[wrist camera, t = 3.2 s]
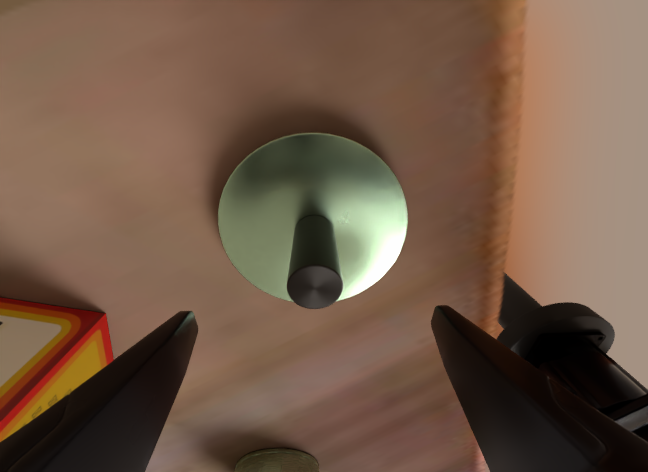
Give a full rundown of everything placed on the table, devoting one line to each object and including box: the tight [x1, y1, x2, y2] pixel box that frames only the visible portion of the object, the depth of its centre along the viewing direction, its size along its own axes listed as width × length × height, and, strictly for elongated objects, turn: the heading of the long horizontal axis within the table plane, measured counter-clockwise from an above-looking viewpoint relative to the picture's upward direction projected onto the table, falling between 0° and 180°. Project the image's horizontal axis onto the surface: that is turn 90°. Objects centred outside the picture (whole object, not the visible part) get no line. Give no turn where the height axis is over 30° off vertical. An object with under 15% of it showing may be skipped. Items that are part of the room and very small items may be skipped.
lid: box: [218, 132, 408, 309], centre depth 13 cm, size 11×11×6 cm
